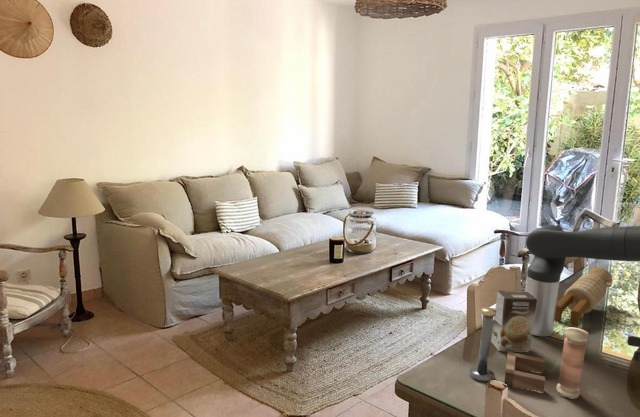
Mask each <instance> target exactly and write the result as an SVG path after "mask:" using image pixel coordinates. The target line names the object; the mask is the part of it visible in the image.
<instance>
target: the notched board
mask: <svg viewBox="0 0 640 417" xmlns="http://www.w3.org/2000/svg"><path fill="white" fill-rule="evenodd" d="M505 364H506V365H505V374H504V381H503V384H504V383H505V384H507V385H508V386H507V387H510V388H515V387H517V388H516V389H519V388H523V389H522V390H524V389H529V390H536V391H540V392H543V393H544V391H545V384H546V377H545V376H544V375H543V376H542V375H540V374H535V373H531V372H528V371H534V372H540V373H543V374H544V367H545V358H542V357H538V356H537V357H536V356H533V355H528V354H527V355H526V354H521V353H518V352H517V353H516V352H508V351H507V358H506V363H505ZM518 369H520V370H518ZM523 370H526V371H523Z"/></svg>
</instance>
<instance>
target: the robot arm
mask: <svg viewBox="0 0 640 417" xmlns="http://www.w3.org/2000/svg"><path fill="white" fill-rule="evenodd" d="M525 247H526V248H527V250H528V252H529V253H530V254H531V255H533V256H534V257H533V260H532V261H531V263H530V264H529V266H528V268H527V272H526V280H525V290H524V292H528V293H529V294H531V295H533V296H534V297H535V298H536V299H537V303H536V310H535V318H534V325H533V332H532V336H537V337H550V336H552V335H553V332H554V326H555V320H554V319H555V312H556V304H557V302H558V298H559V297H558V296H559V288H560V282H561V277H562V276H561V275H562V274H563V272H564V268H565V264H566V259H567V258H581V259H582V258H583V259H584V258H585V259H592V260H593V259H594V260H601V261H602V260H603V261H613V262H614V261H617V262H640V226H607V227H597V228H591V229H584V230H578V231H577V230H576V231H573V230H572V231H571V230H570V231H567V230H564V229H563V228H561V227H560V226H558V225H553V224H550V225H545V226H542V227H539V228H535V229H534V230H532V231H531V232H530V233H529V234H528V236H527V238H526V240H525ZM626 343H627V345H628V346H630V347H637V348H640V336H635V335H628V337H627V341H626ZM632 358H633V360H634V362H639V363H640V350H635V351H634V352H633V357H632Z"/></svg>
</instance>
